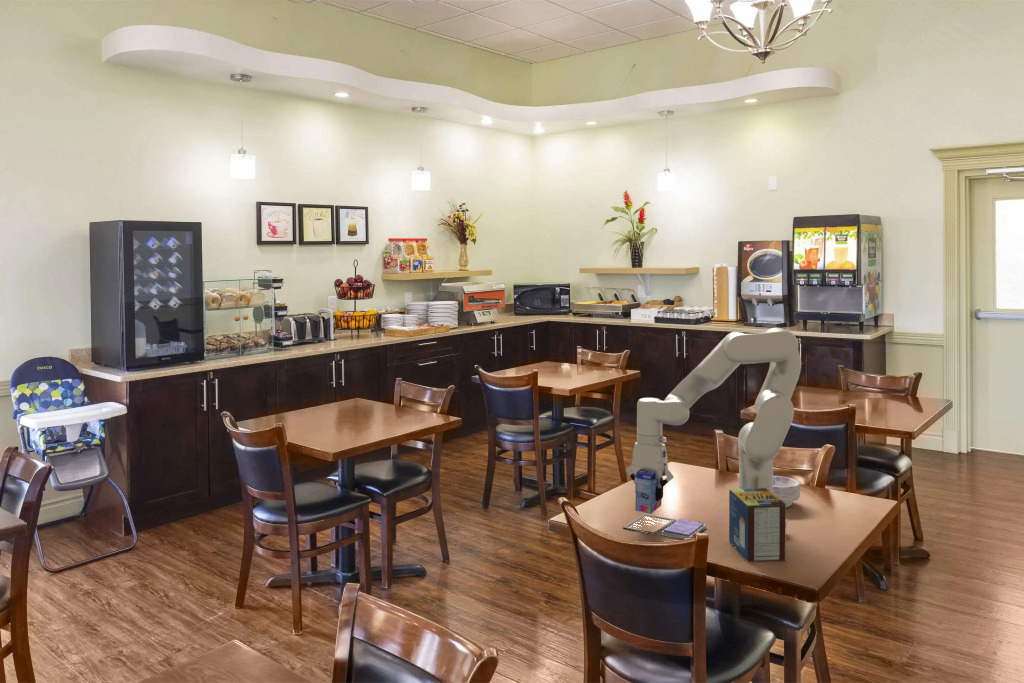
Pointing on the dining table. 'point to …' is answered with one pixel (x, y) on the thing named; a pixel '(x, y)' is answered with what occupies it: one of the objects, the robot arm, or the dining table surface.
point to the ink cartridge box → (646, 492)
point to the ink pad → (683, 529)
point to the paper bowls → (786, 489)
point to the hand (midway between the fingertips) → (649, 497)
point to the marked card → (650, 522)
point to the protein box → (757, 524)
